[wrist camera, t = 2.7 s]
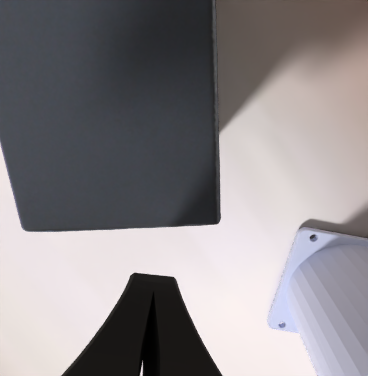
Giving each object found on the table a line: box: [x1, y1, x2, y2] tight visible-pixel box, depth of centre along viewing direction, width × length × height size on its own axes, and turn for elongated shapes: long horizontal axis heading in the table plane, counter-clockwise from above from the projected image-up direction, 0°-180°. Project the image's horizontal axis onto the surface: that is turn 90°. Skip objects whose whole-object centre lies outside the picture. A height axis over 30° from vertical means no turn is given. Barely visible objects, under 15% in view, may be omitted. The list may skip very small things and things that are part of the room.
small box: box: [0, 0, 221, 232], centre depth 12 cm, size 11×6×10 cm, turn 4°
